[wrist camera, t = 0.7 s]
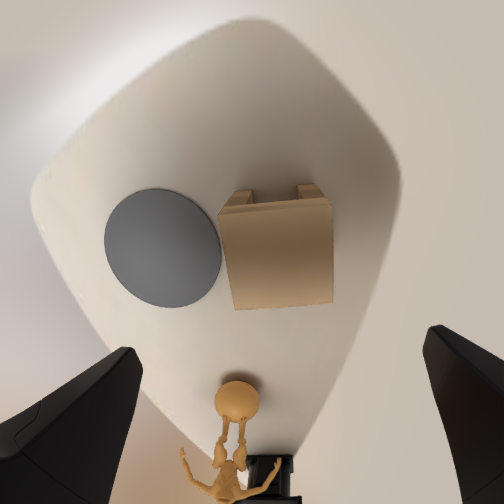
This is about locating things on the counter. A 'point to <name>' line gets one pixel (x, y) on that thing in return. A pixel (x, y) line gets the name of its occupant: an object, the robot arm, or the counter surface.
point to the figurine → (238, 411)
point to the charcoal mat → (162, 248)
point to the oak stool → (278, 250)
